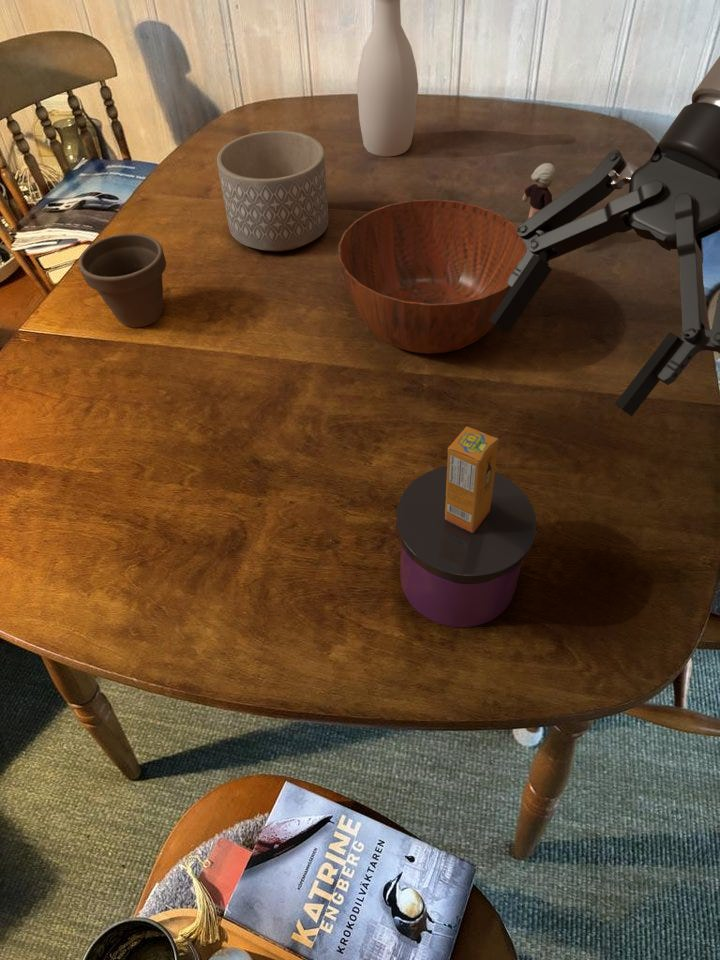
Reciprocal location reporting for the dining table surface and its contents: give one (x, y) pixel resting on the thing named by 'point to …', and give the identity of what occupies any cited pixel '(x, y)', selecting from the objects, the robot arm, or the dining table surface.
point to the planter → (274, 189)
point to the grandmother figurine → (540, 188)
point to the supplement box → (470, 478)
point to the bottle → (387, 84)
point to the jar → (462, 552)
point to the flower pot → (127, 276)
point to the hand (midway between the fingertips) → (556, 366)
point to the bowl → (429, 271)
